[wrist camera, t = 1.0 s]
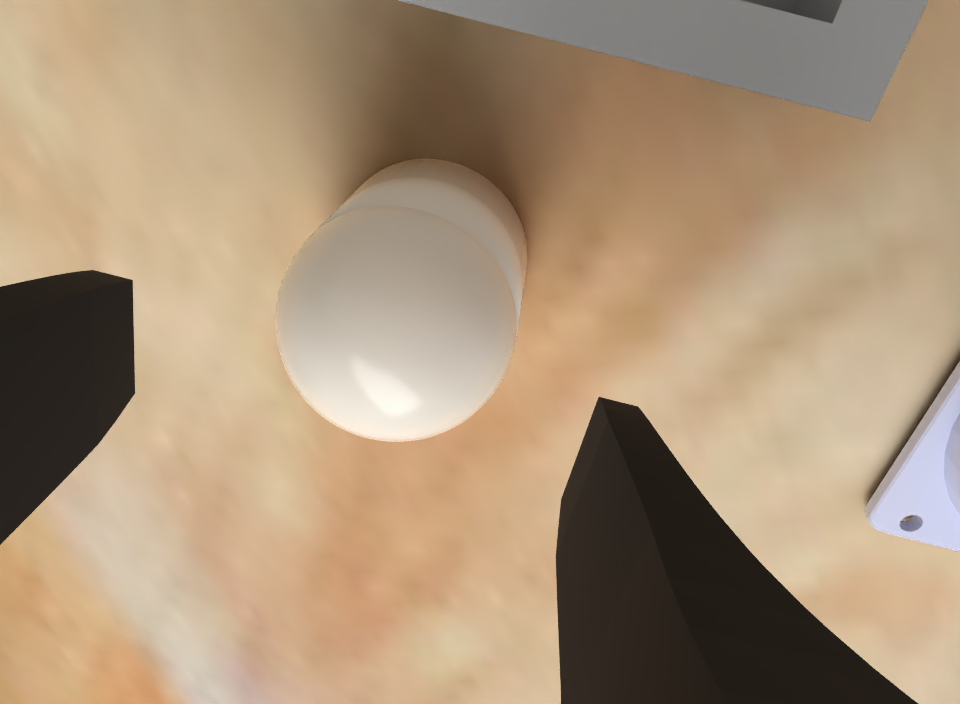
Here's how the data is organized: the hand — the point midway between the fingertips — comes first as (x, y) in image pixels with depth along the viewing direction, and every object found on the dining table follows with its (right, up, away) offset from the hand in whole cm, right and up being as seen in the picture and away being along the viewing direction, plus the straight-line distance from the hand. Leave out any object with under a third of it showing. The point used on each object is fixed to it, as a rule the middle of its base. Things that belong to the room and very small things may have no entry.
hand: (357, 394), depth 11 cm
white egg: (+1, +3, +5) cm, 6 cm away
